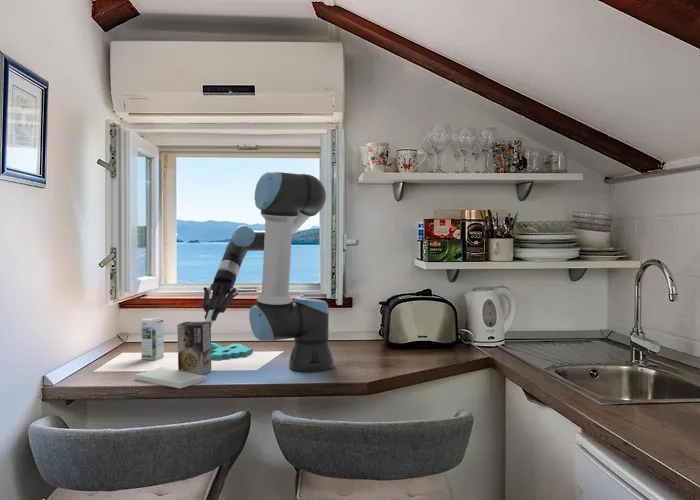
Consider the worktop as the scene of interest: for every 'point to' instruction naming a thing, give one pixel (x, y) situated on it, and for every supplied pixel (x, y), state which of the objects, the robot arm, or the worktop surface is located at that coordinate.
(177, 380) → the board
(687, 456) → the worktop surface
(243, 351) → the alien figure
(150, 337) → the syrup box
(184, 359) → the coffee box
